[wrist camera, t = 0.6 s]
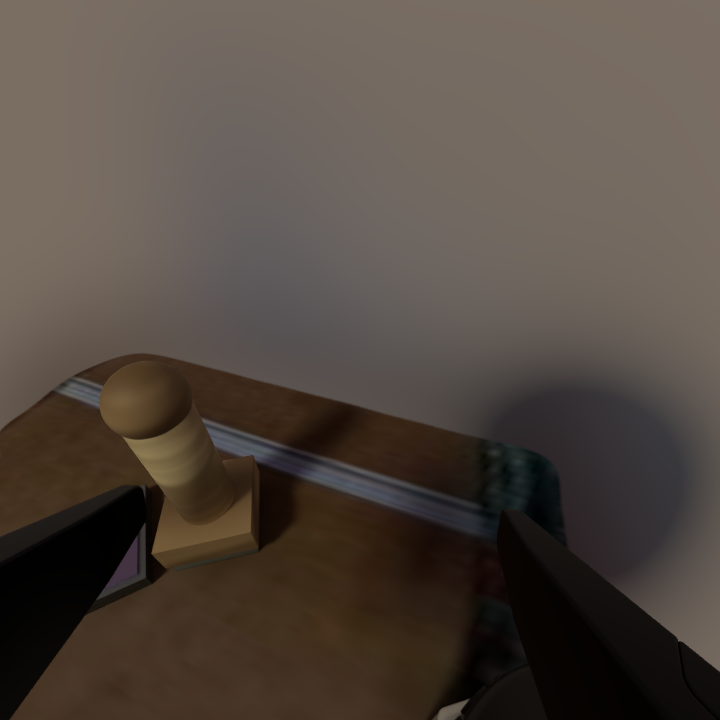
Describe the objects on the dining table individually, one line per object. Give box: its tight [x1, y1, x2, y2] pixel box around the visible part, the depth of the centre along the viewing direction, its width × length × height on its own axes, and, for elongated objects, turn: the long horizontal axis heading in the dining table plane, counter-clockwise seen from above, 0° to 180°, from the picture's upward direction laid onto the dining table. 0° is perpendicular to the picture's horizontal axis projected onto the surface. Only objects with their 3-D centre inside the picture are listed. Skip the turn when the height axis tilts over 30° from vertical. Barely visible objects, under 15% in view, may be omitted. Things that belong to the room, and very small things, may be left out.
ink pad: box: [86, 484, 152, 614], centre depth 23 cm, size 7×7×1 cm
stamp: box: [99, 361, 260, 571], centre depth 20 cm, size 6×6×14 cm
